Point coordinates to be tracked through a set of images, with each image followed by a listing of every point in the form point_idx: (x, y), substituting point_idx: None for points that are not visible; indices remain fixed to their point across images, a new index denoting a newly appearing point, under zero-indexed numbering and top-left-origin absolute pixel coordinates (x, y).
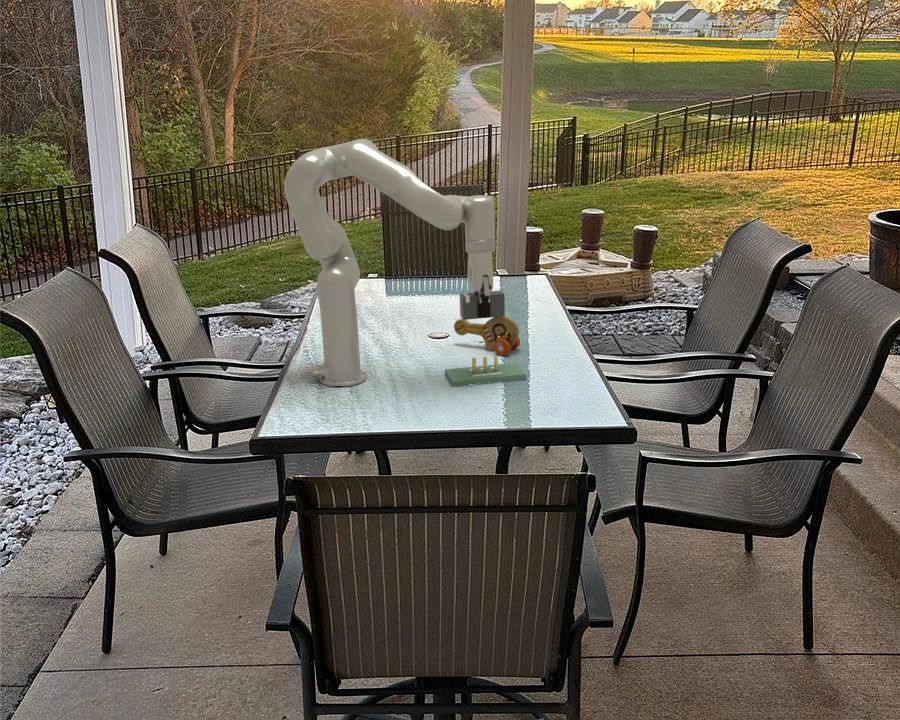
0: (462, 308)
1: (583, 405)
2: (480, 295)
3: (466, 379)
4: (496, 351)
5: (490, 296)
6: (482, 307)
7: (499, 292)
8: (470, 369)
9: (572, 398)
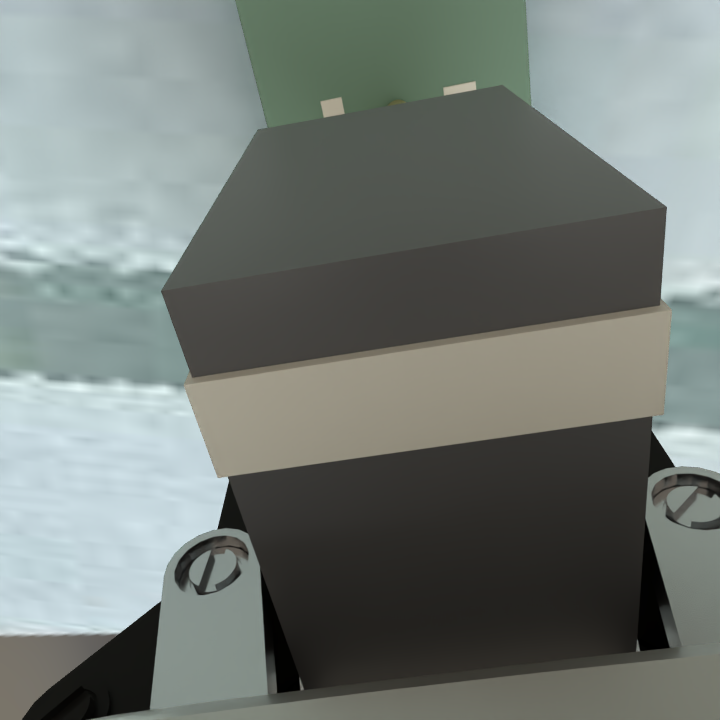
0: (269, 173)
1: (12, 555)
2: (163, 698)
3: (259, 48)
4: None
5: None
6: (226, 514)
7: None
8: (468, 88)
9: (88, 531)
